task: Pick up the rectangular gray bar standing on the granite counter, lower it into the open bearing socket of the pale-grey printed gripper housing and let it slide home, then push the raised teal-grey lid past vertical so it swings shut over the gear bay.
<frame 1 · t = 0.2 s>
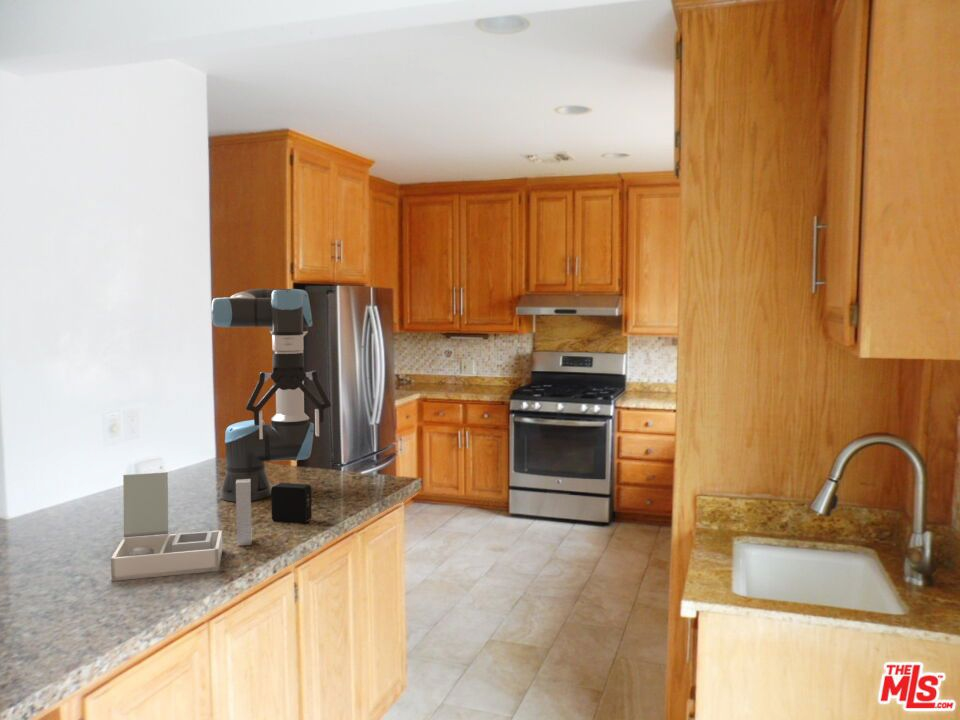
hand: (289, 436, 178), 27 cm above the counter, fingers open, 13 cm apart
electronic device: (291, 521, 199), on the counter
housing: (170, 564, 165), on the counter
rectangular gray bar: (244, 543, 180), on the counter
lid: (146, 504, 170), point 12 cm above the counter, hinge at 98.0°
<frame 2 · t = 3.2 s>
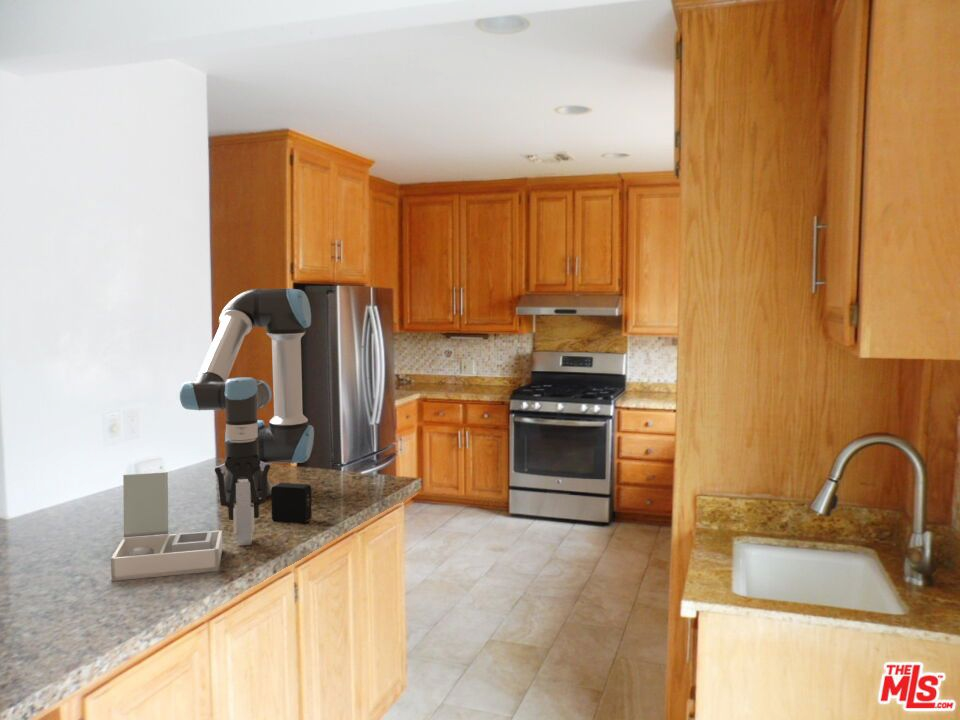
hand: (244, 531, 180), 3 cm above the counter, fingers closed on rectangular gray bar, 3 cm apart
rectangular gray bar: (244, 543, 180), on the counter, touching gripper
everything else where it was.
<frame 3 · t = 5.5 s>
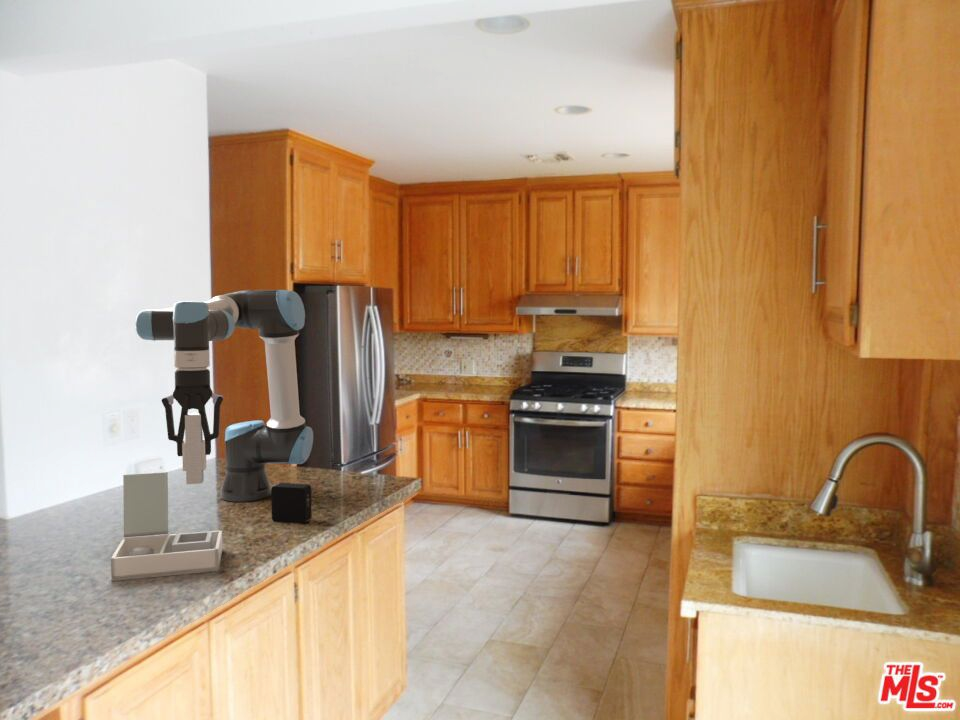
hand: (194, 468, 165), 22 cm above the counter, fingers closed on rectangular gray bar, 3 cm apart
rectangular gray bar: (195, 482, 166), point 19 cm above the counter, touching gripper
everything else where it was.
when the fingers open (7 cm above the counter, at t = 8.2 s): rectangular gray bar drops 3 cm, resting on housing.
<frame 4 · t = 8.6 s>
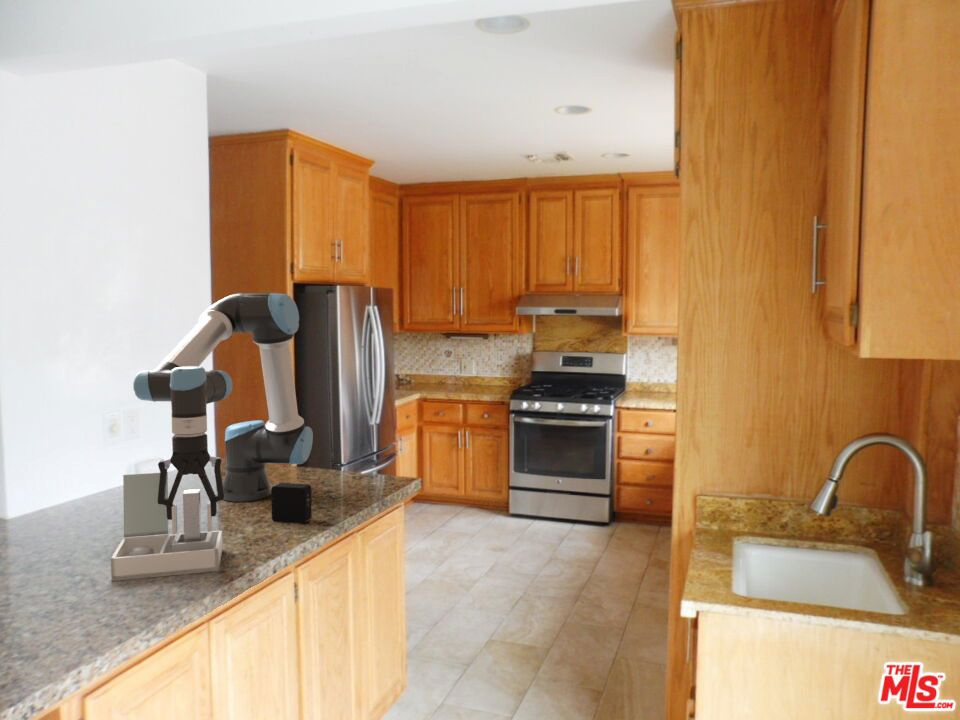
hand: (192, 531, 166), 8 cm above the counter, fingers open, 7 cm apart
rectangular gray bar: (193, 558, 166), point 1 cm above the counter, touching housing
everything else where it was.
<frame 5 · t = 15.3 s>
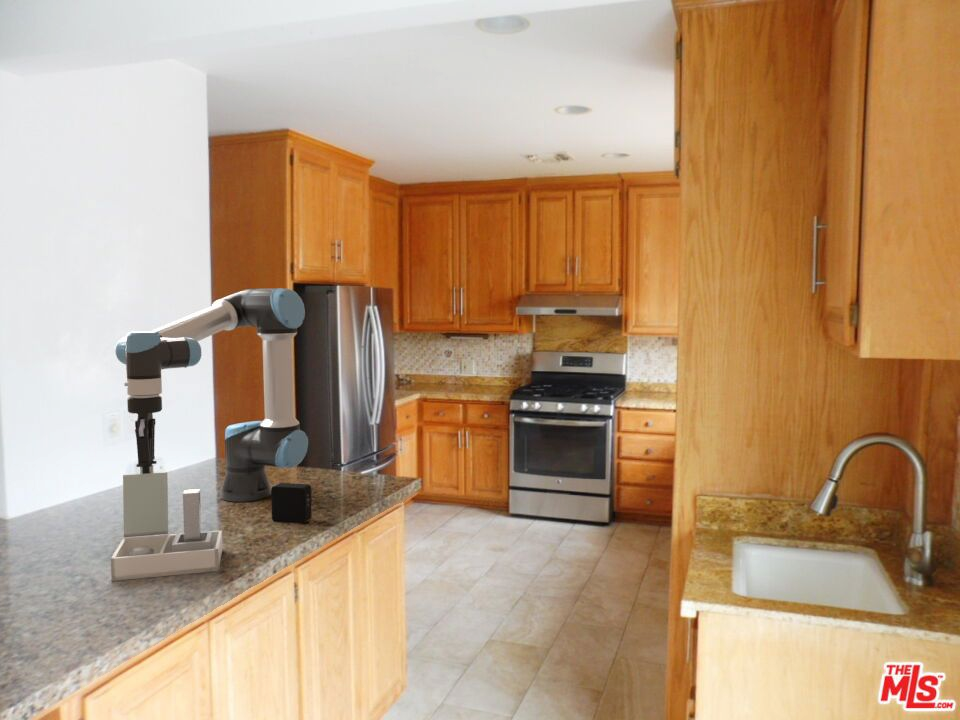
hand: (147, 491, 173), 15 cm above the counter, fingers closed
lid: (145, 504, 170), point 13 cm above the counter, hinge at 96.2°, touching gripper
everything else where it was.
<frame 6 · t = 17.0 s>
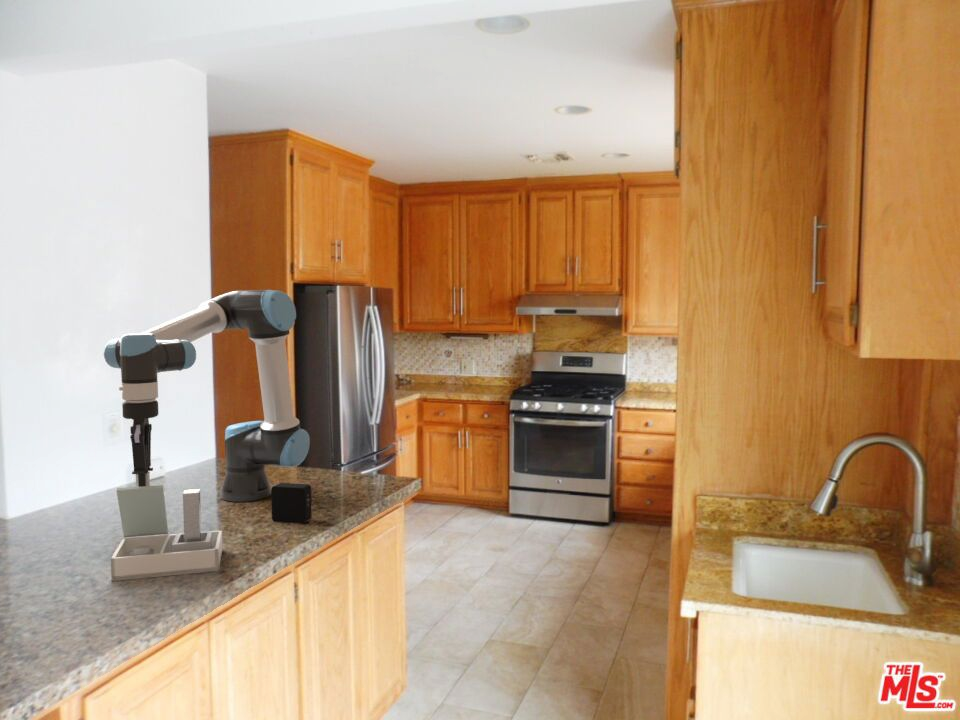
hand: (143, 499, 167), 14 cm above the counter, fingers closed
lid: (143, 511, 166), point 12 cm above the counter, hinge at 63.7°
everything else where it was.
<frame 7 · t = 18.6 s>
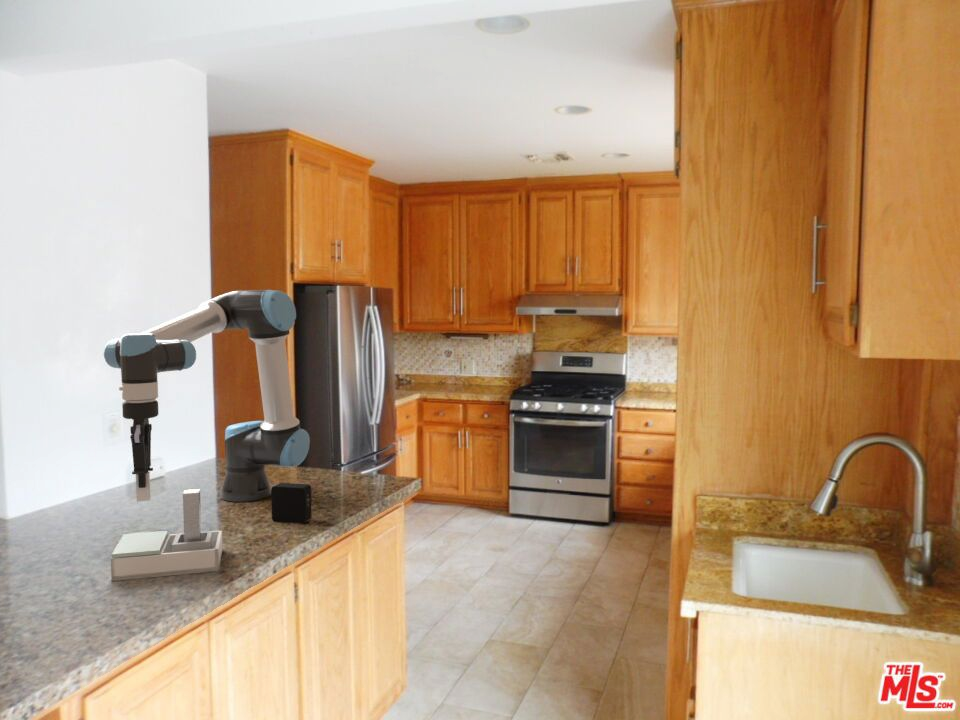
hand: (143, 499, 167), 14 cm above the counter, fingers closed
lid: (141, 543, 163), point 6 cm above the counter, hinge at -0.2°
everything else where it was.
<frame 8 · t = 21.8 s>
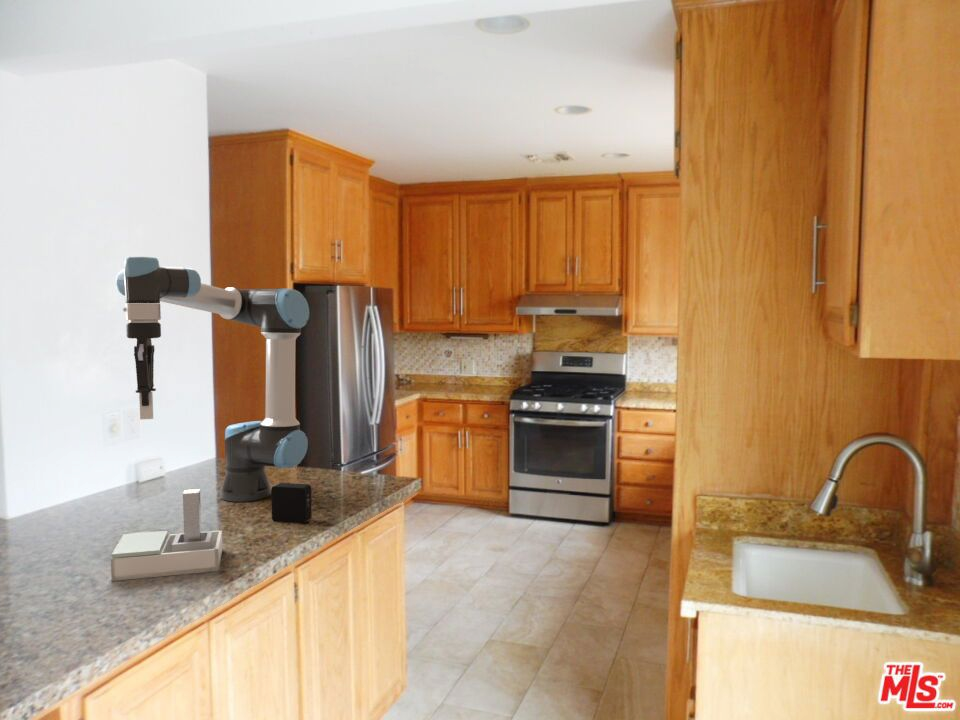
hand: (146, 418, 173), 32 cm above the counter, fingers closed
nothing on the counter moved.
at the end: rectangular gray bar 0.0 cm from the target spot on the housing, point 1.0 cm above the housing's base; rectangular gray bar tilted 0°; lid at +0° (first picture: +98°) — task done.
